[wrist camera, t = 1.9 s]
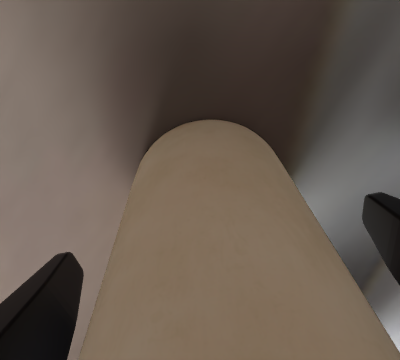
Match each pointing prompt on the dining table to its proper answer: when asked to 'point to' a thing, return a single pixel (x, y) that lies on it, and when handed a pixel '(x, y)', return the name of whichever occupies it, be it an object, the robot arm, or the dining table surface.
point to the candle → (226, 263)
